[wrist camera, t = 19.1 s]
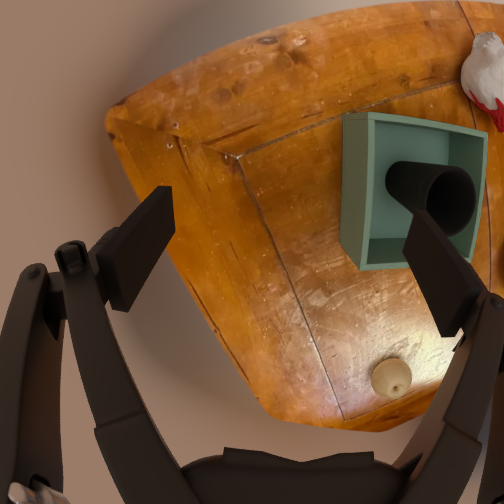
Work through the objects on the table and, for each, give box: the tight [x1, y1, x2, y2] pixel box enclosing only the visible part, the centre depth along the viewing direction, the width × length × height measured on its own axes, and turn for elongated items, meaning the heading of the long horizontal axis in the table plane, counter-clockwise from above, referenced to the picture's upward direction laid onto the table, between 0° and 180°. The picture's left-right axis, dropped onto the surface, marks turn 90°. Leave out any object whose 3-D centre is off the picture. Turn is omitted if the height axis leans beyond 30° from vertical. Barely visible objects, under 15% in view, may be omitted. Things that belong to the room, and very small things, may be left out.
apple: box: [371, 358, 412, 399], centre depth 49 cm, size 8×8×8 cm
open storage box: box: [339, 112, 488, 271], centre depth 34 cm, size 18×18×9 cm
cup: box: [385, 161, 476, 237], centre depth 31 cm, size 8×8×12 cm
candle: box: [461, 31, 504, 133], centre depth 28 cm, size 9×11×15 cm
